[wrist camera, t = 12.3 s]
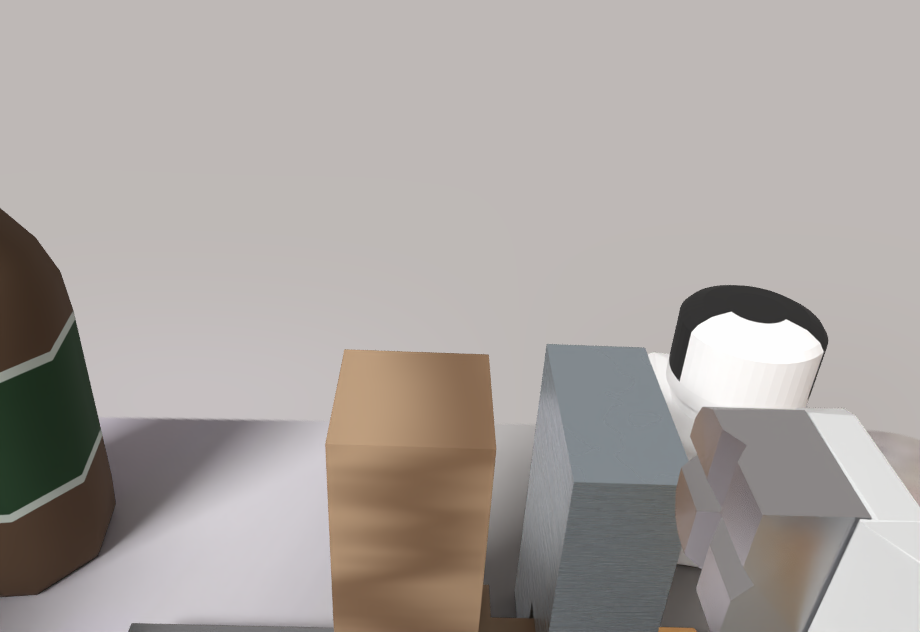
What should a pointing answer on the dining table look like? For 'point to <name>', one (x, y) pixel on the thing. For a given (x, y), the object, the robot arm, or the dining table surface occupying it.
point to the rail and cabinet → (588, 499)
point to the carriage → (412, 493)
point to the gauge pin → (676, 629)
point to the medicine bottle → (738, 356)
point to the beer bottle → (45, 426)
